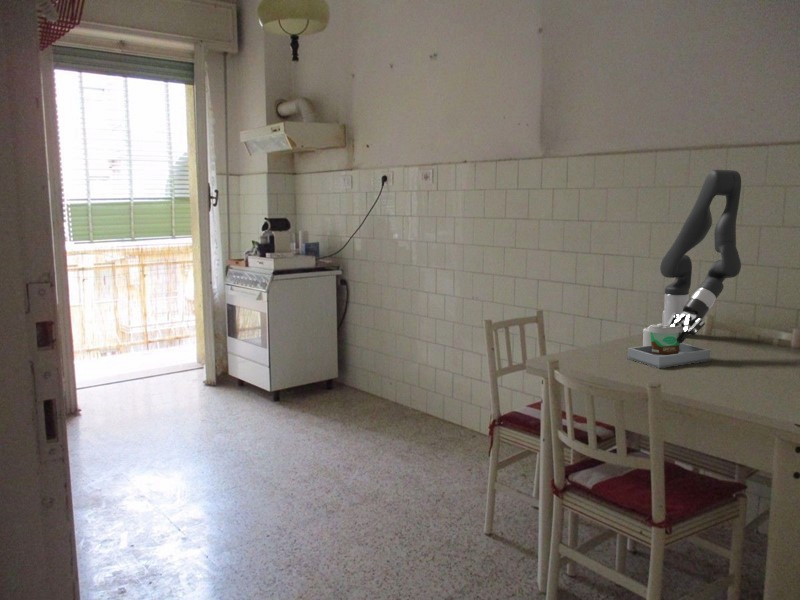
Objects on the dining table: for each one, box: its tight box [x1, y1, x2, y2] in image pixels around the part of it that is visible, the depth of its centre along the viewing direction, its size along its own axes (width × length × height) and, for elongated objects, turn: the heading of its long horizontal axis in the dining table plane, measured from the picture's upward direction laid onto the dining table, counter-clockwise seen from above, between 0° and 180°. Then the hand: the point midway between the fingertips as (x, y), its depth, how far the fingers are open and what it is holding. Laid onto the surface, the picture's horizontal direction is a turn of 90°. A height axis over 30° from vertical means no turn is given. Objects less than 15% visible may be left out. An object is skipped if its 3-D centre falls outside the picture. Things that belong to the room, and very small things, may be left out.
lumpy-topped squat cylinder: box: [642, 323, 667, 346], centre depth 256 cm, size 10×13×9 cm
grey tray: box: [627, 342, 711, 369], centre depth 237 cm, size 16×22×4 cm
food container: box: [649, 323, 683, 355], centre depth 236 cm, size 12×6×10 cm, turn 102°
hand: (672, 340), depth 236 cm, fingers closed on food container, 5 cm apart
